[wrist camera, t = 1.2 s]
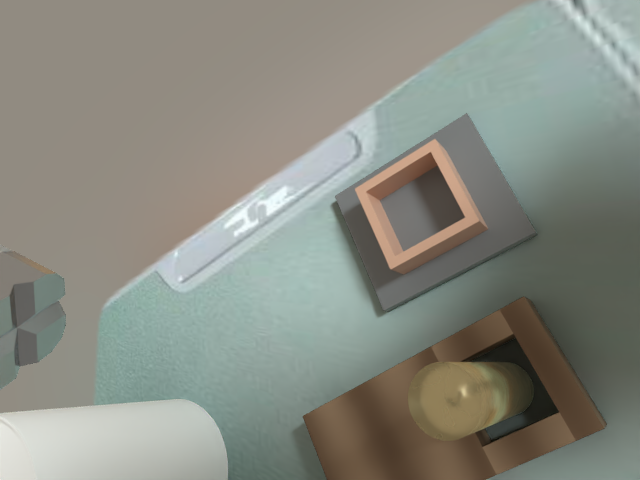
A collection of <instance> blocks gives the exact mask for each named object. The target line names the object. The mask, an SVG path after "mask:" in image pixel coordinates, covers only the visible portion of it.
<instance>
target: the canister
mask: <svg viewBox="0 0 640 480" xmlns="http://www.w3.org/2000/svg"><path fill="white" fill-rule="evenodd" d="M0 480H228V459H227V452H226V447H225V444H224V440H223V437H222V435H221V432H220V430H219V428H218V426H217V425H216V423H215V421H214V420H213V419H212V417H211V416H210V415H209V414H208V413H207V412H206V411H205V410H204V409H203V408H202V407H200V406H199V405H197V404H196V403H194V402H191V401H188V400H184V399H172V400H159V401H146V402H134V403H121V404H109V405H96V406H84V407H72V408H59V409H46V410H33V411H22V412H8V413H0Z"/></svg>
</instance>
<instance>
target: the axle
mask: <svg viewBox="0 0 640 480" xmlns="http://www.w3.org/2000/svg"><path fill="white" fill-rule="evenodd" d="M533 396H534V386H533V382H532V380H531V378H530V376H529V375H528V373H527V372H526V371H525V370H524V369H523V368H521V367H520V366H518V365H516V364H514V363H510V362H436V363H432V364H429V365H427V366H425V367H424V368H422V369H421V370H420V371H419V372H418V373H417V374H416V375H415V376H414V378H413V380H412V382H411V384H410V387H409V391H408V405H409V410H410V413H411V415H412V417H413V419H414V421H415V423H416V424H417V425H418V427H419V428H420V429H421V430H422V431H424V432H425V433H426V434H428V435H429V436H431V437H433V438H436V439H438V440H443V441H453V440H458V439H460V438H463V437H465V436H468V435H470V434H472V433H475V432H477V431H479V430H482V429H484V428H486V427H489V426H491V425H494V424H496V423H498V422H501V421H503V420H505V419H508V418H510V417H513V416H515V415H517V414H520V413H522V412H523V411H525V410H526V409H527V408H528V407H529V405H530V404H531V402H532V400H533Z"/></svg>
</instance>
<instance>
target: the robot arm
mask: <svg viewBox="0 0 640 480" xmlns="http://www.w3.org/2000/svg"><path fill="white" fill-rule="evenodd" d="M64 295H65V283H64V278H62V277H61V276H60V275H58V274H57V273H55V272H53V271H51V270H49V269H47V268H45V267H44V266H42V265H40V264H38V263H36V262H34V261H32V260H30V259H28V258H26V257H24V256H22V255H20V254H18V253H16V252H15V251H12V250H10V249H8V248H6V247H4V246H2V245H0V389H2V388H3V387H5V386H6V385H7V384H9V383H10V382H12V381H13V380H14V379H16V377H17V374H18V370H19V367H20V366H24V365H28V364H33V363H37V362H39V361H40V360H41V359H43V358H44V357H45V356H47V355H48V354H49V353H51V352H52V350H53V349H54V348H55V346H56V345H57V344H58V342H59V341H60V339H61V338H62V335H63V332H64V329H65V326H66V314H65V312H64V311H63V308H62V307H61V305H60V303H59V300H60V299H61V298H62V297H63V296H64Z"/></svg>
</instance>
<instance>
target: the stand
mask: <svg viewBox="0 0 640 480" xmlns="http://www.w3.org/2000/svg"><path fill="white" fill-rule="evenodd" d="M335 198H336V200H337V203H338V205H339V207H340V210H341V212H342V214H343V217H344V219H345V221H346V224H347V226H348V228H349V231H350V233H351V235H352V238H353V240H354V242H355V245H356V247H357V250H358V252H359V254H360V257H361V259H362V261H363V264H364V266H365V268H366V271H367V273H368V275H369V278H370V280H371V282H372V285H373V287H374V289H375V292H376V294H377V296H378V299H379V301H380V304H381V306H382V308H383V311H387V312H388V311H390V310H392V309H394V308H396V307H398V306H400V305H402V304H404V303H406V302H408V301H410V300H412V299H414V298H416V297H418V296H419V295H421V294H423V293H425V292H427V291H429V290H431V289H433V288H435V287H437V286H439V285H441V284H443V283H445V282H447V281H449V280H451V279H453V278H454V277H456V276H458V275H460V274H462V273H464V272H466V271H468V270H470V269H472V268H474V267H476V266H478V265H480V264H482V263H484V262H486V261H488V260H489V259H491V258H493V257H495V256H497V255H499V254H501V253H503V252H505V251H507V250H509V249H511V248H513V247H515V246H517V245H519V244H521V243H522V242H524V241H526V240H528V239H530V238H532V237H534V236H536V235H538V234H537V233H536V231H535V229H534V227H533V226H532V224H531V222H530V221H529V219H528V217H527V215H526V214H525V212H524V210H523V208H522V207H521V205H520V203H519V202H518V200H517V198H516V196H515V195H514V193H513V191H512V189H511V188H510V186H509V184H508V182H507V181H506V179H505V177H504V176H503V174H502V172H501V170H500V169H499V167H498V165H497V163H496V162H495V160H494V158H493V157H492V155H491V153H490V151H489V150H488V148H487V146H486V144H485V143H484V141H483V139H482V138H481V136H480V134H479V132H478V131H477V129H476V127H475V125H474V124H473V122H472V120H471V119H470V117H469V116H468V114H467V113H466V114H465V115H463V116H462V117H460V118H458V119H457V120H455V121H454V122H452V123H450V124H449V125H447V126H446V127H444V128H443V129H441V130H439V131H438V132H436V133H435V134H433V135H431V136H430V137H428V138H427V139H425V140H423V141H422V142H420V143H419V144H417V145H415V146H414V147H412V148H411V149H409V150H408V151H406V152H404V153H403V154H401V155H400V156H398V157H396V158H395V159H393V160H392V161H390V162H388V163H387V164H385V165H384V166H382V167H380V168H379V169H377V170H376V171H374V172H373V173H371V174H369V175H368V176H366V177H365V178H363V179H361V180H360V181H358V182H357V183H355V184H353V185H352V186H350V187H349V188H347V189H345V190H344V191H342V192H341V193H339V194H338V195H336V196H335Z"/></svg>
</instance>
